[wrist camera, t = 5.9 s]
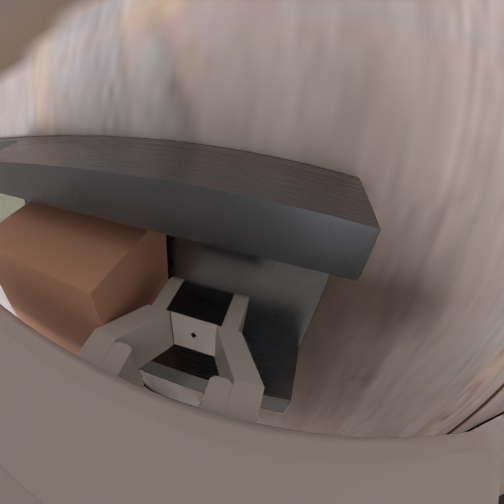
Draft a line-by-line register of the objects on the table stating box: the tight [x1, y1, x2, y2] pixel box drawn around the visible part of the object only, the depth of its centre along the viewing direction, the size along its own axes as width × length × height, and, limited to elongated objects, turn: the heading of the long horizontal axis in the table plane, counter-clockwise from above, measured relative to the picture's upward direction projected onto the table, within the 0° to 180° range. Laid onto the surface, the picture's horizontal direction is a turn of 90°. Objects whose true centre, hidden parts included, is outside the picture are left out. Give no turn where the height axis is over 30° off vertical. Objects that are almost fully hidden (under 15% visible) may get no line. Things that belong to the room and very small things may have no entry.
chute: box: [0, 136, 380, 412], centre depth 11 cm, size 24×10×4 cm, turn 82°
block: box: [0, 201, 169, 355], centre depth 10 cm, size 7×5×4 cm
